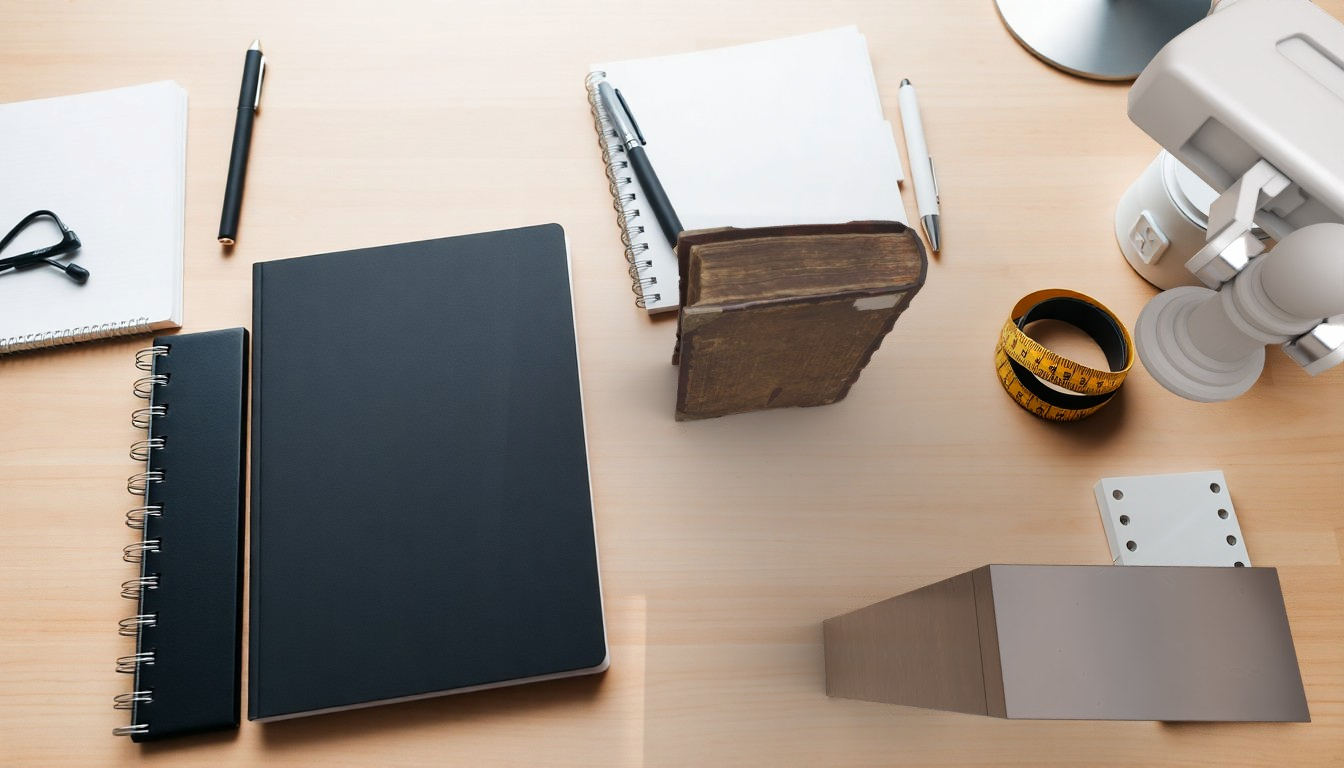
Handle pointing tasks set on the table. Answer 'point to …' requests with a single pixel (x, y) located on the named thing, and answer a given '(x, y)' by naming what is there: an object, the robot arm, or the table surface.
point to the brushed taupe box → (1077, 645)
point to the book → (787, 311)
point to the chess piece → (1242, 316)
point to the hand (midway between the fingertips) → (1257, 314)
